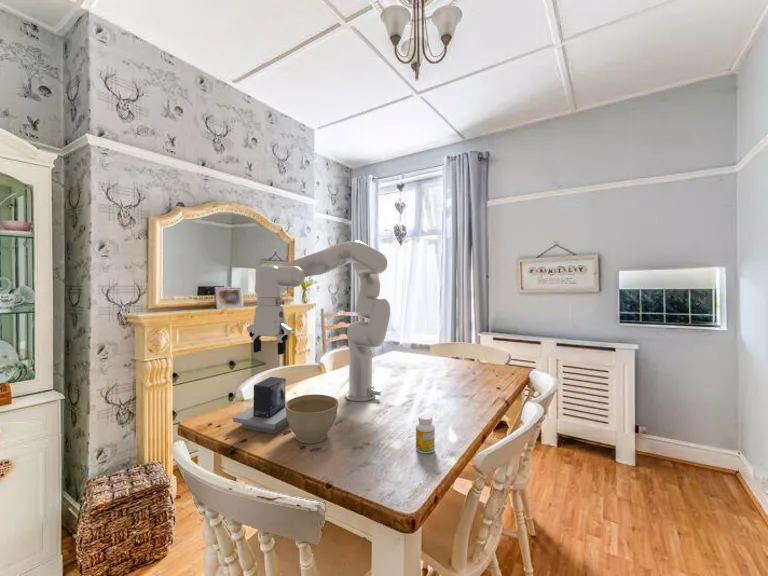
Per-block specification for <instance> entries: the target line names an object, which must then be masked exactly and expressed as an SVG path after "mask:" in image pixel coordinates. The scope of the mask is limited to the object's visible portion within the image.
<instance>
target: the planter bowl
mask: <svg viewBox="0 0 768 576" xmlns="http://www.w3.org/2000/svg"><path fill="white" fill-rule="evenodd" d="M338 407H339V401H338V399H337V398H335V397H333V396H331V395H326V394H320V393H319V394H315V393H314V394H305V395H304V394H303V395H300V396H295V397H293V398H291V399H289V400H287V401H285V409H286V416H287V421H288V424H287V425H288V426H289V428H290V429H291V432H292V433H293V434H294V435H295V439H296V440H297V441H298V442H300V443H303V444H316V443H319V442H322V441H324V440H325V439H326V438H327V437H328V433H329V432H330V430H331V429H332V428H333V426H334V424H335V421H336V419H337V413H338Z"/></svg>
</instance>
